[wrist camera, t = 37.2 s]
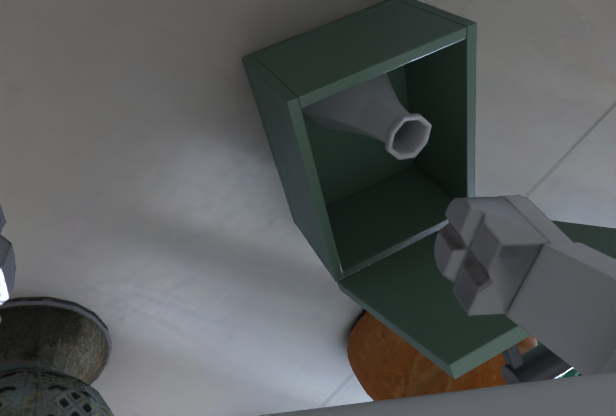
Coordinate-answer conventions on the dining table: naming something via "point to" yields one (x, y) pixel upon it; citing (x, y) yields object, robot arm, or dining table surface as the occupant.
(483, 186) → the dining table surface
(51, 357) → the lantern
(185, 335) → the dining table surface
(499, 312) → the robot arm
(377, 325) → the bread
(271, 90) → the chest
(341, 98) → the flask
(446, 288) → the chest lid
